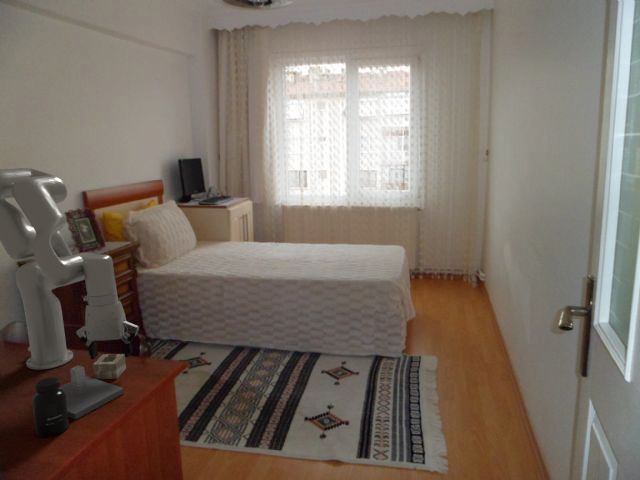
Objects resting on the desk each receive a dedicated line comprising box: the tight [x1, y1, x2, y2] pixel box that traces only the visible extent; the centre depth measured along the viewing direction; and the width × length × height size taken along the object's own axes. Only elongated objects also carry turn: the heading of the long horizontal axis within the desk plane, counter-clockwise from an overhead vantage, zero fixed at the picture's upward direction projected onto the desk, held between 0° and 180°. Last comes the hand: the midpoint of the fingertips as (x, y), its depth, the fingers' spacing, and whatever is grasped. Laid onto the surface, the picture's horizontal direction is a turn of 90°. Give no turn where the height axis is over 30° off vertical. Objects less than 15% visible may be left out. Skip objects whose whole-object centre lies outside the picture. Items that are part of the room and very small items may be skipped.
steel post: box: [69, 365, 87, 396], centre depth 127 cm, size 2×2×7 cm
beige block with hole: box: [92, 353, 127, 380], centre depth 141 cm, size 6×6×5 cm
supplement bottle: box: [31, 377, 70, 438], centre depth 113 cm, size 7×7×12 cm
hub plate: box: [60, 374, 125, 420], centre depth 127 cm, size 16×14×2 cm
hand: (111, 356), depth 140 cm, fingers open, 9 cm apart
